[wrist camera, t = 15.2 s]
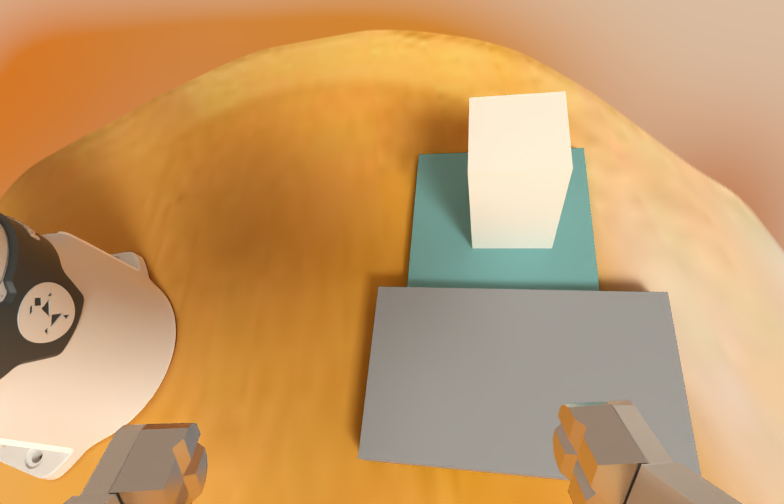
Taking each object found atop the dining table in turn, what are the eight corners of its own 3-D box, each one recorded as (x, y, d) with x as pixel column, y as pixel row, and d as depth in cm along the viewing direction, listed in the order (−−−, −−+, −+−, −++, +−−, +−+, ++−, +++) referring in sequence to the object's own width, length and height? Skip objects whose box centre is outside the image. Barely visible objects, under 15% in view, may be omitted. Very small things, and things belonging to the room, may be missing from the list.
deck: (365, 460, 32) (358, 458, 30) (383, 296, 37) (378, 286, 35) (690, 492, 28) (703, 492, 26) (658, 303, 33) (667, 292, 31)
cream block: (472, 248, 37) (467, 171, 28) (473, 185, 39) (469, 97, 31) (552, 248, 36) (572, 167, 27) (547, 183, 38) (565, 91, 30)
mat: (408, 291, 37) (407, 287, 36) (420, 160, 43) (418, 154, 42) (597, 295, 34) (599, 291, 33) (581, 154, 40) (583, 148, 39)
